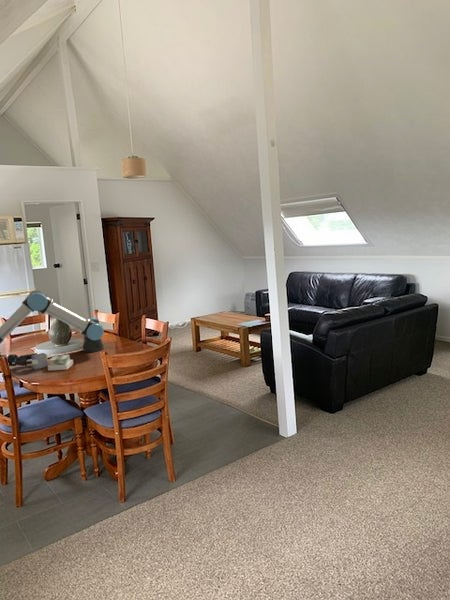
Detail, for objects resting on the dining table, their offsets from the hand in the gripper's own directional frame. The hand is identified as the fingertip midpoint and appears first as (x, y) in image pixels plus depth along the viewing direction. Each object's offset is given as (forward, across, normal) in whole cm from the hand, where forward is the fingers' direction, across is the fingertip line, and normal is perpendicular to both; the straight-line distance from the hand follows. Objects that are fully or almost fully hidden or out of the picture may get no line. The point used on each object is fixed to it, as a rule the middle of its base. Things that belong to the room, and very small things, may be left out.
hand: (42, 358), depth 291 cm
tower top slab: (+12, +1, -3) cm, 12 cm away
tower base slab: (+12, +1, -6) cm, 14 cm away
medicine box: (-2, 0, -6) cm, 6 cm away
